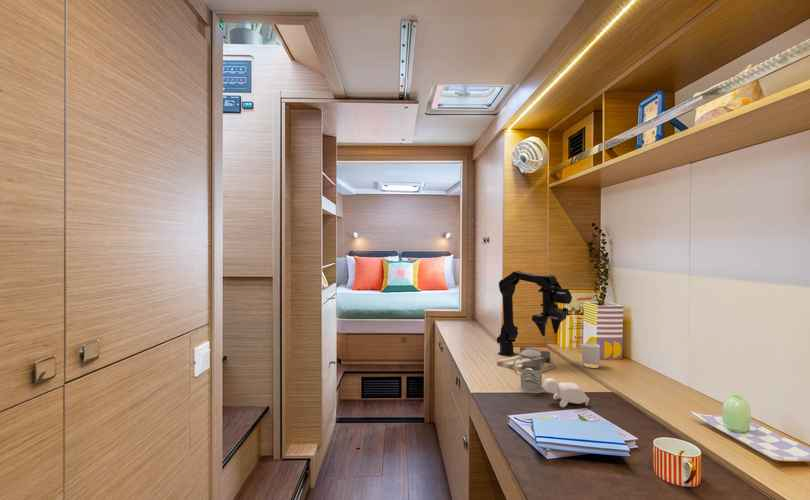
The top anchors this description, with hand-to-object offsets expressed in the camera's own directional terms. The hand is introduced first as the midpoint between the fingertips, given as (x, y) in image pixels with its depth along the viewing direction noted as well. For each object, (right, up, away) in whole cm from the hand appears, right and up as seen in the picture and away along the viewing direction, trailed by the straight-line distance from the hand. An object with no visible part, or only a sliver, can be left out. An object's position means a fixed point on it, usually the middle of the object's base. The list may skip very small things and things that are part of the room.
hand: (549, 334), depth 185 cm
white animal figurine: (-12, -14, -47) cm, 51 cm away
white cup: (+17, -14, -5) cm, 23 cm away
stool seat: (-11, -14, -1) cm, 18 cm away
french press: (-20, -14, -32) cm, 40 cm away
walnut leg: (-6, -12, +3) cm, 13 cm away
